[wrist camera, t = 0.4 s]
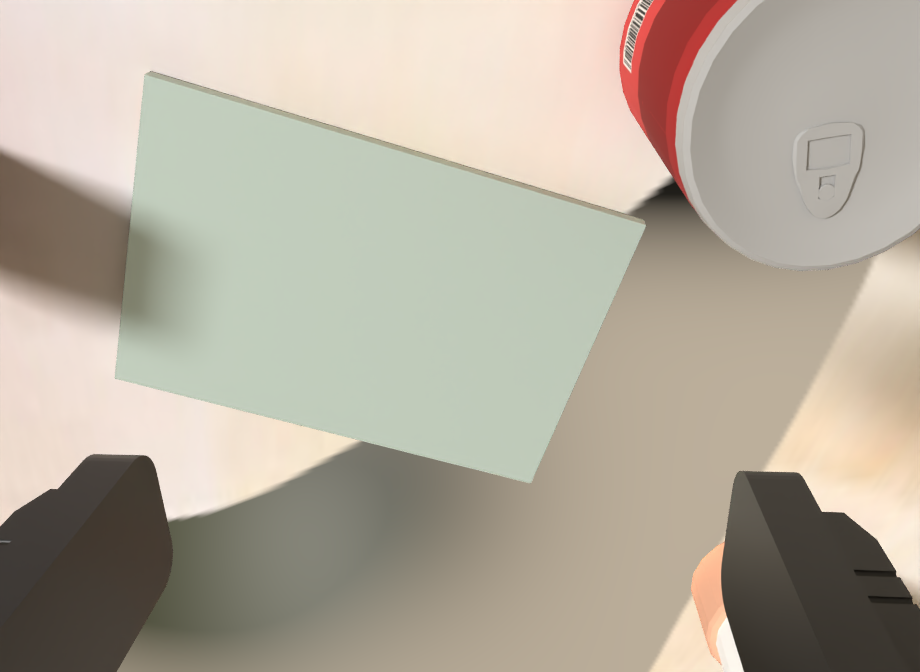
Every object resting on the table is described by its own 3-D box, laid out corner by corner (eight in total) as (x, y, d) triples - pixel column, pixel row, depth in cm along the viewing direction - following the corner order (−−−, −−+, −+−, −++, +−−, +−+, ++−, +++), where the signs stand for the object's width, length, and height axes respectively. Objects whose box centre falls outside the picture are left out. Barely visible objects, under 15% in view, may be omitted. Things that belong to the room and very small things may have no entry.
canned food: (654, 185, 32) (729, 315, 22) (582, -12, 28) (635, 40, 18) (849, 102, 30) (1024, 205, 20) (799, -119, 26) (981, -122, 17)
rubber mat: (150, 71, 30) (144, 74, 29) (643, 219, 32) (646, 225, 32) (119, 371, 36) (114, 378, 36) (530, 475, 39) (530, 483, 38)
